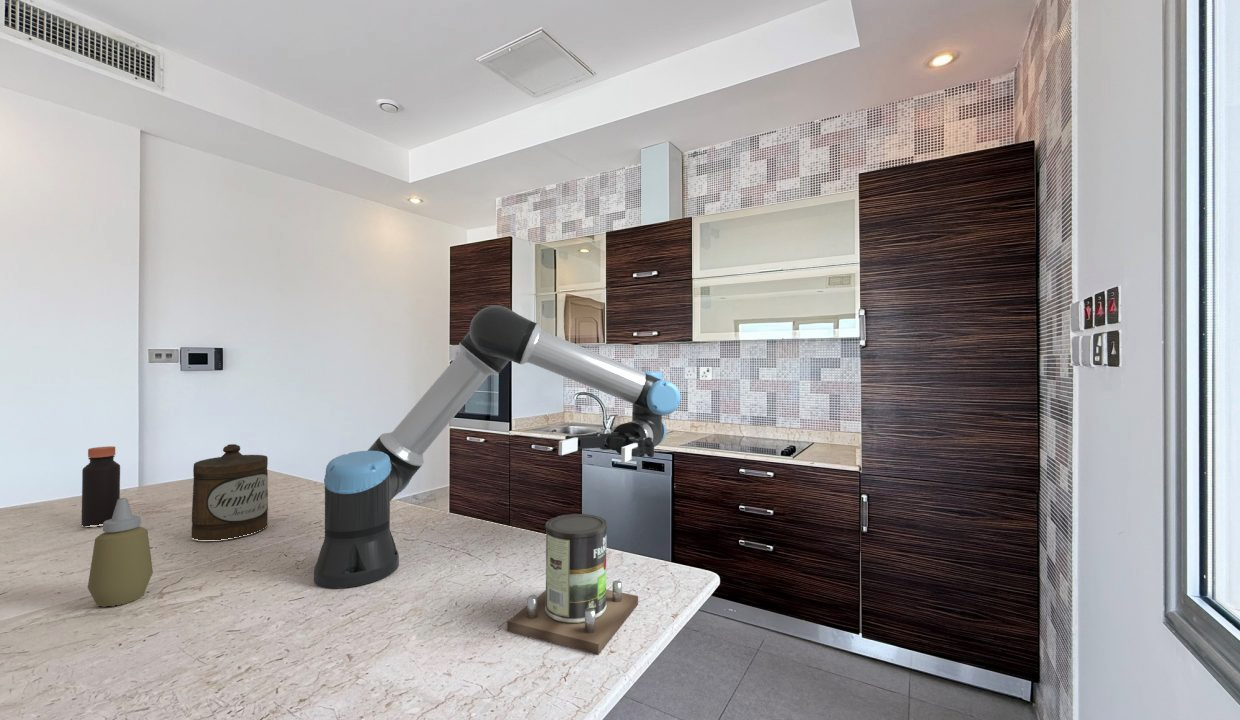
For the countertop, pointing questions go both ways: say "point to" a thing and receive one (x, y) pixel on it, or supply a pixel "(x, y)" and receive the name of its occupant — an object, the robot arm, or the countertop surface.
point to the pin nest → (575, 635)
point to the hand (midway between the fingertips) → (590, 451)
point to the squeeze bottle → (120, 559)
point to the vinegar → (100, 486)
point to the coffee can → (575, 567)
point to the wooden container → (229, 495)
